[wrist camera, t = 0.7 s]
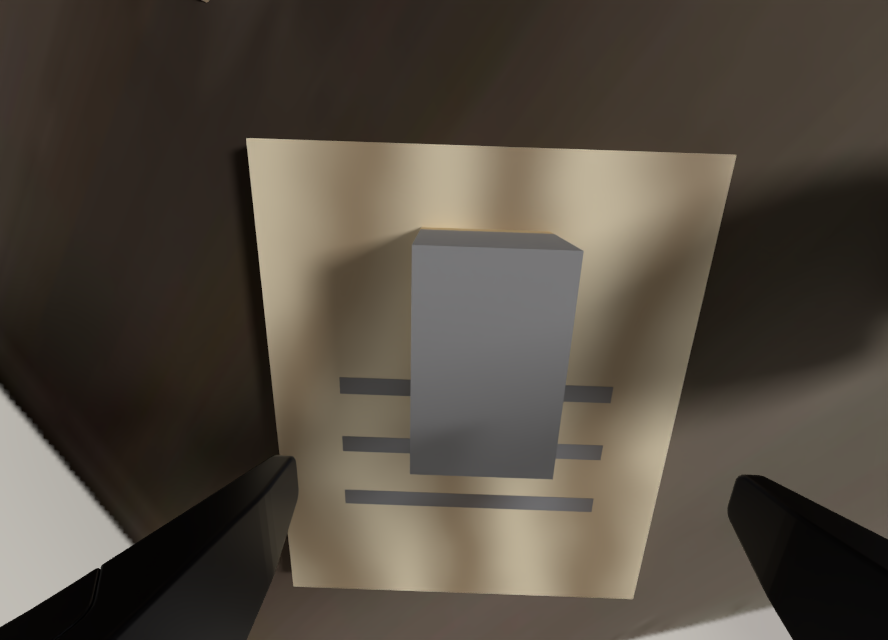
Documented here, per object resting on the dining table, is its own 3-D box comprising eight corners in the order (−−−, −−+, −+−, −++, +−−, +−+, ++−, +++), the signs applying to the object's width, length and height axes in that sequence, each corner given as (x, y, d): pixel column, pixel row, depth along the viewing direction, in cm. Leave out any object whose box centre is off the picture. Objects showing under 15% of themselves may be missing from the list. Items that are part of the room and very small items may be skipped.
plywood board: (717, 156, 17) (737, 154, 16) (624, 578, 24) (633, 599, 23) (259, 140, 17) (245, 138, 16) (301, 566, 24) (293, 586, 23)
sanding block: (549, 231, 17) (583, 250, 13) (530, 412, 19) (552, 479, 15) (421, 227, 17) (412, 245, 13) (418, 408, 19) (409, 474, 15)
